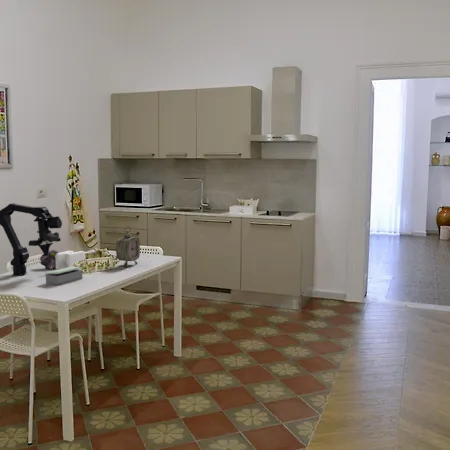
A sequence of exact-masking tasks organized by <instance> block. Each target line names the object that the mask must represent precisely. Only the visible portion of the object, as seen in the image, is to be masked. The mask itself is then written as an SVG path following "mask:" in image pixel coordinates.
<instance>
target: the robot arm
mask: <svg viewBox="0 0 450 450" xmlns="http://www.w3.org/2000/svg"><path fill="white" fill-rule="evenodd" d="M15 212H16V213H17V212H19V213H24V214H28V215H32V216H33V217H35V219H33V222H37V227H38V228H37V234H38V238H37V239H31V240H29V241H28V246H30V247H37V246H38V248H39V249H40V250H41V251H42V253H43V254H44V255H45V256H48V252H49V251H50V248H51V246H52V245H54V242H55V243H56V242H61V237H60V233H59V232H58V231H57V232H54V233H52V231H51V230H50V229H61V228H62V225H63V221H62V219H61V217H60V216H59V215H58V216H54V215H53V214H52V213H51V212H50V211H49V208H48V207H47V206H29V205H25V204H24V205H23V204H18V203H9V204H8V205H6V206H5V207H3V208H1V209H0V226H1V227H2V229H3V231H4V233H5V235H6V237H7V239H8V242H9V243H10V246H11V248H12V255H13V258H12V259H11V260H10V261H9V263H10V265H11V266H12V274H11V275H12V276H25V275H26V274H27V266H26V264H27V262H28V260H29V258H30V252H29V250H28V248H27V247H25V246H24V247H23V246H22V244H21V243H20V240H19V237H18V235H17V234H16V232H15V230H14V229H15V228H14V227H13V225H12V217H11V215H13V214H14V213H15Z"/></svg>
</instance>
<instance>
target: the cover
mask: <svg viewBox="0 0 450 450" xmlns="http://www.w3.org/2000/svg"><path fill="white" fill-rule="evenodd" d="M80 268H82V267H67V268H63V269H59V270H56V269H54V270H51V271H46V272H45V275H46V274H59V273H63V272H67V271H72V270H76V269H80Z"/></svg>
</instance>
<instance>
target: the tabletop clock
mask: <svg viewBox="0 0 450 450" xmlns="http://www.w3.org/2000/svg"><path fill="white" fill-rule="evenodd" d="M127 228H129V230H126V229H127ZM123 230H124V233H125V234H123V237H120V238H119V239H117V240H116V242H115V252H116V253H115V256H116V259H117V258H118V259H119V261H122V262H123V261H124V264H123V265H124V266H125V267H126V268H129V266H130V265H129V264H128V263H129V262H134V263H135V265H137V264H138V261H136V260H138V259H139V258H140V255H141V254H140V252H141V245H140V239H139V237H137V236H136V237H135V236H132V234H131V231H132V228H131V226H130V225H128V226H125V227H124V229H123ZM118 259H117V260H118Z"/></svg>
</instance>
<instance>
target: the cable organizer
mask: <svg viewBox="0 0 450 450" xmlns="http://www.w3.org/2000/svg"><path fill="white" fill-rule="evenodd" d="M55 259H56V269H55V270H59V269H63V268H67V267H74V266H73V265H74V263H76V262H78V261H81V260H84V259H85V260H86V253H85V251H83V250H79V251H75V252H74V250H66V251H62V252H59V253H57V254H56V256H55Z"/></svg>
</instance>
